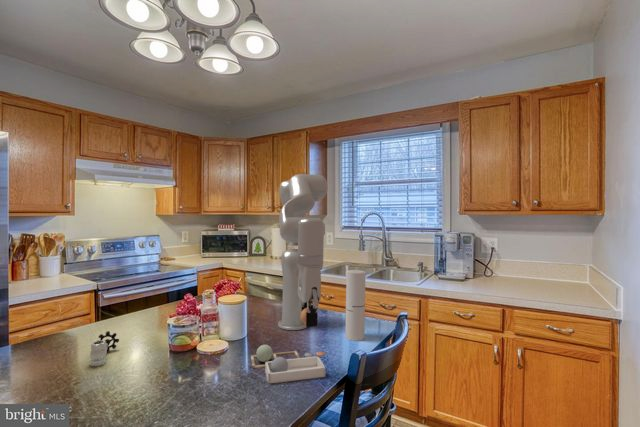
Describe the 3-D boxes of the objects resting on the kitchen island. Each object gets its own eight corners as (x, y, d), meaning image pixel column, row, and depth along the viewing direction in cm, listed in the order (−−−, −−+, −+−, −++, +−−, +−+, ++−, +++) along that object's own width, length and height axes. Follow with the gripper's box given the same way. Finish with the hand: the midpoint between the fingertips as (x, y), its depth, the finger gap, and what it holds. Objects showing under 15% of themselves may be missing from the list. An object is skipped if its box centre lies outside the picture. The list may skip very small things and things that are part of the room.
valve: (108, 365, 99) (119, 349, 111) (109, 344, 99) (119, 330, 111) (82, 368, 97) (96, 352, 109) (83, 346, 97) (96, 332, 109)
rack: (250, 358, 106) (250, 355, 106) (296, 353, 110) (296, 350, 110) (252, 369, 98) (252, 366, 98) (301, 364, 103) (301, 361, 103)
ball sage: (255, 358, 105) (255, 342, 105) (271, 357, 106) (271, 341, 106) (256, 365, 100) (257, 349, 100) (273, 364, 102) (273, 347, 102)
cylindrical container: (363, 341, 121) (364, 273, 121) (344, 339, 123) (345, 272, 123) (364, 334, 128) (366, 270, 128) (346, 333, 130) (347, 269, 130)
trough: (265, 371, 97) (265, 361, 97) (318, 365, 102) (318, 356, 102) (268, 385, 90) (268, 374, 90) (325, 378, 94) (325, 367, 94)
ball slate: (269, 372, 96) (269, 354, 96) (286, 370, 98) (286, 353, 98) (271, 380, 91) (272, 362, 91) (289, 378, 93) (289, 360, 93)
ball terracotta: (298, 322, 99) (299, 305, 98) (315, 321, 100) (315, 304, 100) (302, 328, 94) (303, 310, 94) (319, 326, 95) (320, 309, 95)
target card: (299, 353, 111) (299, 351, 111) (325, 350, 113) (325, 348, 113) (303, 361, 105) (303, 359, 105) (330, 358, 107) (330, 356, 107)
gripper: (292, 257, 104) (290, 315, 104) (304, 265, 87) (303, 334, 88) (315, 256, 106) (314, 313, 106) (331, 265, 90) (330, 332, 90)
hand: (309, 322), depth 97 cm, fingers closed on ball terracotta, 5 cm apart
